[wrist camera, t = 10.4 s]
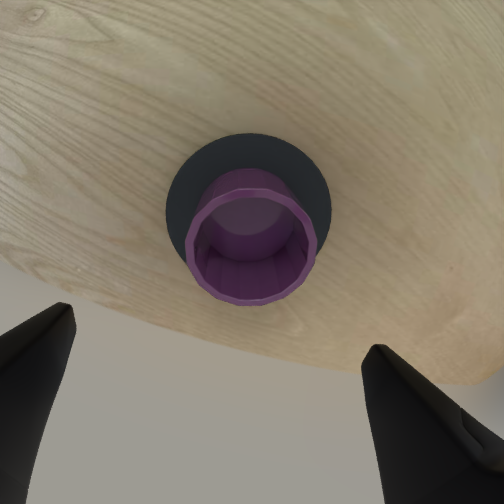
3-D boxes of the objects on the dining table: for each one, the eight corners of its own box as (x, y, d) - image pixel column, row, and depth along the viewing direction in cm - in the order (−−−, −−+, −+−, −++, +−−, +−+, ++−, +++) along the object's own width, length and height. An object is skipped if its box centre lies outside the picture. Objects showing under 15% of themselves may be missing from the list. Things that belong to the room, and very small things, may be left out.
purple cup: (247, 278, 20) (250, 324, 16) (176, 218, 17) (159, 253, 13) (318, 218, 18) (341, 252, 14) (249, 145, 16) (253, 159, 12)
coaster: (247, 309, 21) (248, 313, 21) (136, 218, 18) (133, 221, 17) (358, 217, 18) (361, 220, 18) (251, 97, 15) (251, 97, 14)
